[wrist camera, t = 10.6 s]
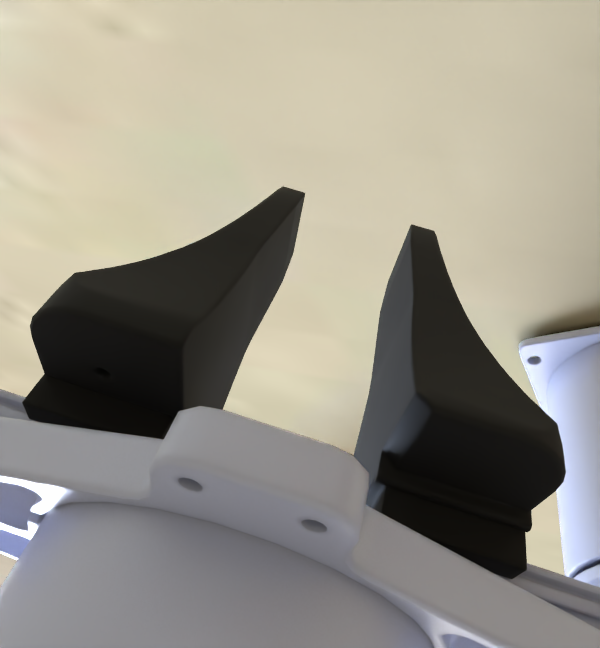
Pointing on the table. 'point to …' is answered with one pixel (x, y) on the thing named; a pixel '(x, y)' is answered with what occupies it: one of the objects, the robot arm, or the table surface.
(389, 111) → the table surface
